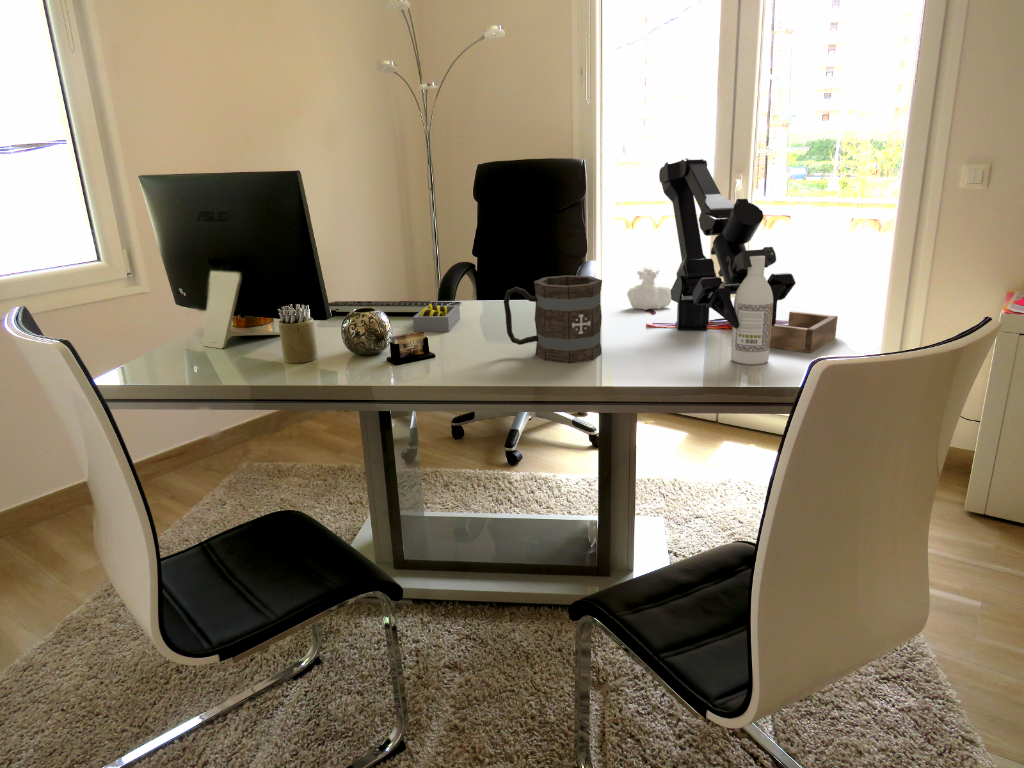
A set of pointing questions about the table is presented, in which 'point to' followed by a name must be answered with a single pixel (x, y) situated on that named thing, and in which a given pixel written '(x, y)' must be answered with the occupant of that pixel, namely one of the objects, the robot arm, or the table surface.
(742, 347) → the bath foam
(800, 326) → the u rest
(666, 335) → the table surface
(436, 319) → the valet tray
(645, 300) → the white tied sack
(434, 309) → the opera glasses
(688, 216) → the robot arm
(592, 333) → the mug
